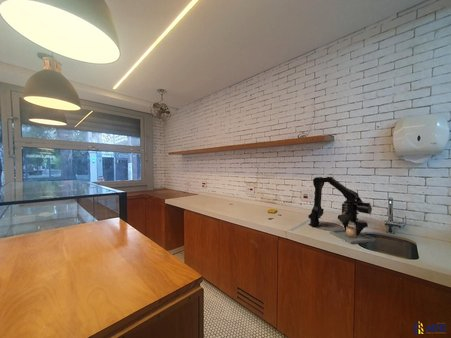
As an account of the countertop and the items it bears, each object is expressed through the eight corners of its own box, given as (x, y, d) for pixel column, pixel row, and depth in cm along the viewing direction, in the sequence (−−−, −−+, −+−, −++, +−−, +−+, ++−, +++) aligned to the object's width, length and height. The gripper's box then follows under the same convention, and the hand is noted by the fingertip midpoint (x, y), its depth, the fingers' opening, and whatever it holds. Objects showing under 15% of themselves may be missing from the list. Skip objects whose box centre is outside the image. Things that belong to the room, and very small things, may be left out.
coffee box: (341, 222, 155) (341, 203, 155) (344, 221, 159) (344, 202, 158) (353, 225, 148) (353, 205, 147) (356, 223, 151) (357, 204, 151)
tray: (330, 233, 132) (330, 230, 132) (351, 231, 135) (351, 228, 135) (351, 244, 115) (351, 241, 114) (375, 241, 118) (375, 238, 118)
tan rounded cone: (343, 235, 127) (344, 226, 127) (351, 234, 128) (351, 226, 128) (351, 238, 121) (351, 229, 121) (358, 237, 122) (359, 229, 122)
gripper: (331, 207, 132) (330, 228, 133) (353, 215, 114) (353, 239, 114) (344, 206, 134) (344, 227, 135) (368, 214, 116) (368, 238, 116)
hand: (351, 233), depth 125 cm, fingers open, 9 cm apart
